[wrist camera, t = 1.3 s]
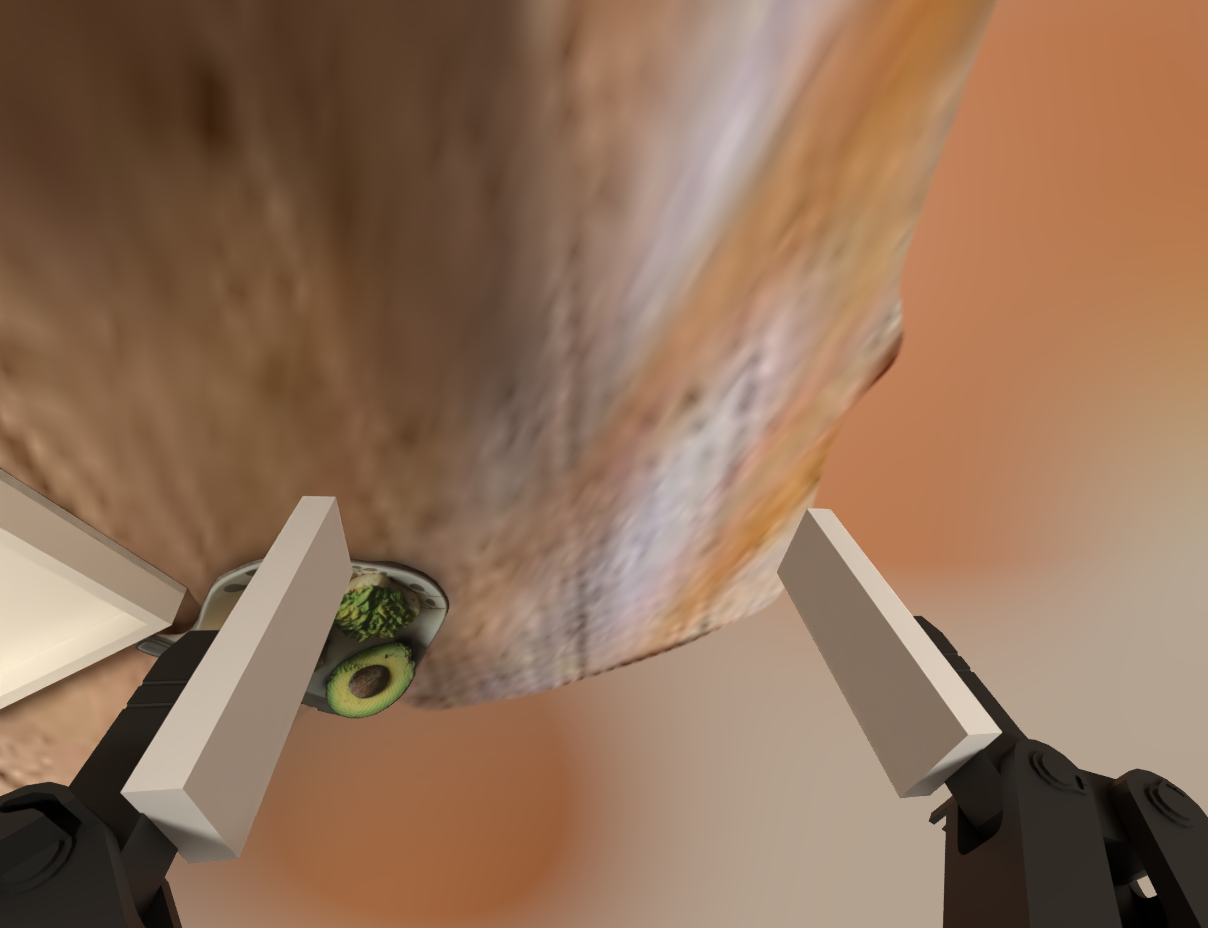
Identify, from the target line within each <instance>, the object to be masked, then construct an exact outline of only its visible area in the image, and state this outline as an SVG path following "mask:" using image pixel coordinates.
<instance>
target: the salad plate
mask: <svg viewBox="0 0 1208 928" xmlns="http://www.w3.org/2000/svg"><path fill="white" fill-rule="evenodd" d="M263 560H264V559H259V560H255V561H252V562H250V563H247V564H244V565H242V566H240V567H238V568H235V569H233V570H231V571H228V572H226V573H223V574H222V575H220V576H219V577H218V578H217V579H216V580H215V582H214V583H213V584H212V586H211V588H210V590H209V594H208V596H207V597H206V599H205V601H204V603H203V605H202V607H201V612H200V614H199V619H198V620H197V621H196V623H195V624H194V626H193V627H192V628H191V629H190V630H189V631H192V630H221V628H222V627H223V625H224V623H225V622H226V620H227V618H228V617H229V615H230V614H231V612H232V610H233V609H234V607H235V605H236V604H237V602H238V601H239V599H240V597H241V596H242V594H243V592H244V591H245V589H246V588H247V586H248V584H249V583H250V581H251V579H252V578H253V576H254V575H255V573H256V571H257V570H258V568H259V566H260V565H261V563H262V562H263ZM350 561H351V565H352V570H353V573H356V574H357V577H355V578H354V579H351V580H350V581H349V584H348V586H347V589H346V591H345V594H344V596H343V599H342V601H341V604H340V606H339V609H338V611H337V614H336V616H335V619H334V621H333V624H332V626H331V629H330V631H329V634H328V636H327V639H326V641H325V644H324V646H323V649H322V651H321V654H320V656H319V659H318V661H317V664H316V666H315V669H314V671H313V674H312V676H311V679H310V681H309V684H308V686H307V689H306V691H305V694H304V696H303V699H302V701H301V704H305V705H307V706H310V707H316V708H317V709H318V711H322V712H326V713H330V714H336V715H339V716H344V717H347V718H363V717H367V716H371V715H374V714H377V713H379V712H381V711H382V710H384V709H386V708H388V707H389V706H390V705H392V704H393V703H394V702H395V701H396V700H398V699H399V698H400V697H401V696H402V695H403V693H404V692H405V691H406V690H407V688H408V687H409V685H410V684H411V682H412V680H413V678H414V676H415V669H416V668H417V666H418V664H419V663H420V661H421V659H422V658H423V656H424V654H425V652H426V650H427V649H428V647H429V645H430V643H431V641H432V640H433V639H434V637H435V635H436V633H437V631H438V630H439V628H440V626H441V624H442V622H443V620H444V618H445V616H446V614H447V612H448V609H449V602H448V599H447V596H446V595H445V593H444V592H443V590H442V589H441V588H440V586H439V585H438V584H437V582H436V581H434V580H433V579H432V578H430V577H429V576H428V575H426V574H424V573H423V572H421V571H418V570H415V569H412V568H410V567H407V566H405V565H402V564H398V563H394V562H384V561H381V562H370V561H361V560H354V559H350ZM187 632H188V631H187ZM187 632H185V633H181V634H152V635H150V636H148V637H146V638H144V639H142V640H140V641H138V642H136V643H135V646H134V647H135V649H137V650H139V651H141V652H143V653H146V654H149V655H152V656H155V657H158V658H159V657H160V655H161V654H162V653H163V652H164V651H166V650H167V649H168V648H169V647H170V646H172V645H173V644H174V643H175V642H176V641H177V640H179V639H180V638H181V637H182V636H183V635H185V634H186V633H187Z"/></svg>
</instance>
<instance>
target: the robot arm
mask: <svg viewBox="0 0 1208 928" xmlns="http://www.w3.org/2000/svg"><path fill="white" fill-rule="evenodd" d="M777 573H778V575H779V577H780V579H781V581H782V583H783V584H784V586H785V588H786V590H787V591H788V594H789V595H790V597H791V599H792V601H793V603H794V604H795V606H796V608H797V610H798V612H799V614H800V615H801V618H802V619H803V621H804V623H805V625H806V627H807V629H808V630H809V632H810V634H811V636H812V637H813V640H814V641H815V643H816V645H817V647H818V649H819V651H820V652H821V654H822V656H823V658H824V660H825V662H826V663H827V665H828V667H829V669H830V671H831V673H832V674H833V676H834V678H835V680H836V682H837V683H838V685H839V687H840V689H841V691H842V693H843V695H844V696H845V698H846V700H847V702H848V704H849V706H850V707H851V709H852V711H853V713H854V715H855V717H856V718H857V720H858V722H859V724H860V726H861V728H862V729H863V731H864V733H865V735H866V736H867V739H868V741H869V742H870V744H871V746H872V748H873V750H874V751H875V753H876V755H877V757H878V759H879V761H880V763H881V764H882V766H883V768H884V770H885V772H886V774H887V775H888V777H889V779H890V781H891V783H892V785H893V786H894V788H895V790H896V792H897V794H898V795H899V797H900V798H906V797H917V796H928V795H931V794H932V793H933V792H934V791H935V790H937V789H938V788H939V787H940V786H941V785H942V784H944V783H945V784H946V785H947V787H948V789H949V790H950V792H951V793H952V795H953V796H952V797H950V798H949V799H948V800H947V801H946V802H945V803H943V804H942V805H941V806H939V807H938V808H937V809H936V810H934V811H933V812H932V813H931V816H930V819H929V822H931V823H932V824H935V823H937V822H938V821H939V820H941V819H942V818H943V817H944V816H946V825H945V826H944V827H943V828H942V830H944V831H945V832H946V842H945V843H946V844H945V879H944V912H943V928H1208V817H1207V816H1206V814H1205V813H1204V812H1203V811H1202V809H1201V808H1200V807H1199V805H1198V804H1196V803H1195V802H1194V801H1193V800H1192V799H1191V798H1190V797H1189V796H1188V795H1187V794H1186V793H1185V792H1184V791H1182V790H1181V789H1179V788H1178V787H1176V786H1175V785H1174V784H1172V783H1171V782H1169V781H1168V780H1167V779H1165V778H1163V777H1161V776H1159V775H1156V774H1155V773H1152V772H1150V771H1146V770H1141V769H1134V770H1131V771H1128V772H1127V773H1125V774H1124V775H1122V776H1121V777H1119V778H1117V779H1113V778H1110V777H1106V776H1103V775H1098V774H1095V773H1092V772H1088V771H1085V770H1081V769H1078V768H1077V767H1076V766H1075V765H1074V764H1073V763H1072V762H1071V761H1070V760H1069V759H1067V758H1066V757H1065V756H1064V755H1063V754H1061V753H1060V752H1058V751H1057V750H1055V749H1054V748H1052V747H1051V746H1049V745H1047V744H1044V743H1042V742H1039V741H1037V740H1031V739H1028V738H1027V737H1026V736H1025V735H1024V734H1023V732H1022V731H1021V730H1020V729H1019V728H1018V727H1017V725H1016V724H1015V723H1014V722H1013V720H1012V719H1011V718H1010V717H1009V715H1008V714H1007V713H1006V712H1005V710H1004V709H1003V708H1002V707H1001V706H1000V704H999V703H998V702H997V700H996V699H995V698H994V697H993V695H992V694H991V693H990V692H989V691H988V689H987V688H986V687H985V686H984V685H983V683H982V682H981V681H980V679H979V678H978V677H977V676H976V674H975V673H974V672H971V671H970V667H969V666H968V664H967V663H966V662H965V661H964V659H963V658H962V657H961V656H958V654H957V653H958V652H957V651H956V650H955V648H954V647H953V646H952V645H951V643H950V642H949V641H948V640H947V638H946V637H945V636H944V635H943V633H942V632H940V631H939V630H938V629H937V628H936V627H934V626H933V625H932V624H931V623H929V622H928V621H927V620H926V619H924V618H923V617H922V616H912V615H911V613H910V612H909V611H908V610H907V608H906V607H905V606H904V604H903V603H902V602H901V600H900V599H899V598H898V597H897V595H896V594H895V593H894V591H893V590H892V589H891V588H890V586H889V585H888V584H887V582H886V581H885V580H884V578H883V577H882V576H881V575H880V573H879V572H878V571H877V569H876V568H875V567H874V565H873V564H872V563H871V562H870V561H869V559H868V558H867V556H866V555H865V554H864V553H863V551H862V550H861V549H860V548H859V546H858V545H857V543H856V542H855V541H854V540H853V538H852V537H851V536H850V534H849V533H848V532H847V530H846V529H845V528H844V527H843V525H842V524H841V523H840V521H839V520H838V519H837V517H836V516H835V515H834V514H833V512H832V511H831V510H830V509H807V510H806V512H805V514H804V516H803V518H802V520H801V522H800V524H799V527H798V529H797V531H796V533H795V535H794V537H793V539H792V541H791V543H790V546H789V548H788V550H787V552H786V554H785V556H784V558H783V560H782V562H781V564H780V567H779V569H778V571H777ZM352 574H353V570H352V565H351V561H350V557H349V552H348V548H347V544H346V539H345V535H344V530H343V526H342V522H341V517H340V513H339V509H338V504H337V500H336V497H326V496H303V497H302V498H301V500H300V501H299V503H298V505H297V506H296V508H295V510H294V511H293V513H292V514H291V516H290V518H289V519H288V521H287V523H286V524H285V526H284V527H283V529H282V531H281V532H280V534H279V536H278V537H277V539H276V540H275V542H274V544H273V545H272V547H271V549H270V550H269V552H268V553H267V555H266V557H265V558H264V560H263V562H262V563H261V565H260V566H259V568H258V570H257V571H256V573H255V575H254V576H253V578H252V579H251V581H250V583H249V584H248V586H247V588H246V589H245V591H244V592H243V594H242V596H241V597H240V599H239V601H238V602H237V604H236V605H235V607H234V609H233V610H232V612H231V614H230V615H229V617H228V618H227V620H226V622H225V623H224V625H223V627H222V628H221V630H192V631H188V632H187V633H186V634H185V635H183V636H182V637H181V638H180V639H179V640H177V641H176V642H175V643H174V644H173V645H172V646H170V647H169V648H168V649H167V650H166V651H164V652H163V653H162V654H161V655H160V657H159V658H158V660H157V661H156V662H155V664H154V665H153V667H152V668H151V670H150V671H149V673H148V674H147V675H146V677H145V678H144V680H143V684H142V686H139V687H138V688H137V690H136V691H135V693H134V694H133V695H132V697H131V698H130V700H129V701H128V703H127V707H126V709H123V710H122V711H121V713H120V714H119V715H118V717H117V718H116V720H115V721H114V723H113V724H112V725H111V727H110V728H109V730H108V731H107V733H106V734H105V735H104V737H103V738H102V740H101V741H100V743H99V744H98V746H97V747H96V748H95V750H94V751H93V753H92V754H91V756H90V757H89V758H88V760H87V761H86V763H85V764H84V766H83V767H82V768H81V770H80V771H79V773H78V774H77V776H76V777H75V778H74V780H73V781H72V783H71V784H70V786H69V787H67V786H65V785H61V784H57V783H53V782H45V783H39V784H33V785H26V786H24V787H22V788H19V789H17V790H14V791H12V792H10V793H7V794H5V795H2V796H0V928H182V926H181V922H180V919H179V916H178V912H177V909H176V906H175V903H174V900H173V896H172V893H171V889H170V886H169V883H168V881H166V879H165V875H166V873H167V871H168V869H169V867H170V865H171V863H172V861H173V859H174V857H175V855H176V853H177V852H178V853H179V854H180V855H181V856H182V857H183V858H184V859H185V860H186V861H187V862H188V863H199V862H210V861H220V860H231V859H239V857H240V854H241V852H242V849H243V846H244V844H245V842H246V839H247V837H248V834H249V832H250V829H251V827H252V824H253V821H254V819H255V817H256V814H257V811H258V809H259V807H260V804H261V802H262V799H263V797H264V794H265V792H266V789H267V787H268V784H269V782H270V779H271V777H272V774H273V772H274V769H275V767H276V764H277V762H278V759H279V757H280V754H281V751H282V749H283V746H284V744H285V741H286V739H287V736H288V734H289V731H290V729H291V726H292V724H293V721H294V719H295V716H296V714H297V711H298V709H299V706H300V704H301V701H302V699H303V696H304V694H305V691H306V689H307V686H308V684H309V681H310V679H311V676H312V674H313V671H314V669H315V666H316V664H317V661H318V659H319V656H320V654H321V651H322V649H323V646H324V644H325V641H326V639H327V636H328V634H329V631H330V629H331V626H332V624H333V621H334V619H335V616H336V614H337V611H338V609H339V606H340V604H341V601H342V599H343V596H344V594H345V591H346V589H347V586H348V584H349V581H350V579H351V576H352ZM1147 875H1148V877H1149V879H1150V881H1151V883H1152V885H1153V887H1154V889H1155V891H1156V893H1157V895H1156V896H1154V897H1151V898H1147V897H1146V896H1145V895H1144V893H1143V892H1142V890H1141V888H1140V886H1139V884H1138V882H1137V880H1138V879H1140V878H1143V877H1145V876H1147Z"/></svg>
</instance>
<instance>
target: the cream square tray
mask: <svg viewBox="0 0 1208 928" xmlns="http://www.w3.org/2000/svg"><path fill="white" fill-rule="evenodd" d="M186 590H187V588H186V587H184V586H183V585H181V584H180V583H178V582H177V581H175V580H173V579H172V578H170V577H169V576H167V575H166V574H164V573H162V572H161V571H159V570H158V569H156V568H155V567H153V566H152V565H150V564H148V563H147V562H145V561H144V560H142V559H141V558H139V557H137V556H136V555H134V554H133V553H131V552H130V551H128V550H126V549H125V548H123V547H122V546H120V545H119V544H117V543H116V542H114V541H112V540H111V539H109V538H108V537H106V536H105V535H103V534H101V533H100V532H98V531H97V530H95V529H94V528H92V527H91V526H89V525H87V524H86V523H84V522H83V521H81V520H80V519H78V518H76V517H75V516H73V515H72V514H70V513H69V512H67V511H66V510H64V509H62V508H61V507H59V506H58V505H56V504H55V503H53V502H51V501H50V500H48V499H47V498H45V497H44V496H42V495H41V494H39V493H37V492H36V491H34V490H33V489H31V488H30V487H28V486H26V485H25V484H23V483H22V482H20V481H19V480H17V479H16V478H14V477H12V476H11V475H9V474H8V473H6V472H5V471H3V470H1V469H0V709H1V708H3V707H5V706H8V705H10V704H12V703H14V702H16V701H18V700H20V699H22V698H24V697H26V696H28V695H30V694H32V693H34V692H36V691H38V690H40V689H42V688H44V687H46V686H48V685H50V684H52V683H54V682H57V681H59V680H61V679H63V678H65V677H67V676H69V675H71V674H73V673H75V672H77V671H79V670H81V669H83V668H85V667H87V666H89V665H91V664H93V663H95V662H97V661H99V660H101V659H103V658H105V657H108V656H110V655H112V654H114V653H116V652H118V651H120V650H122V649H124V648H126V647H128V646H130V645H132V644H134V643H136V642H138V641H140V640H142V639H144V638H146V637H148V636H150V635H152V634H154V633H157V632H159V631H161V630H163V629H165V628H167V627H169V626H171V625H172V623H173V621H174V618H175V616H176V614H177V611H178V609H179V606H180V604H181V602H182V599H183V597H184V594H185V592H186Z"/></svg>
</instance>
